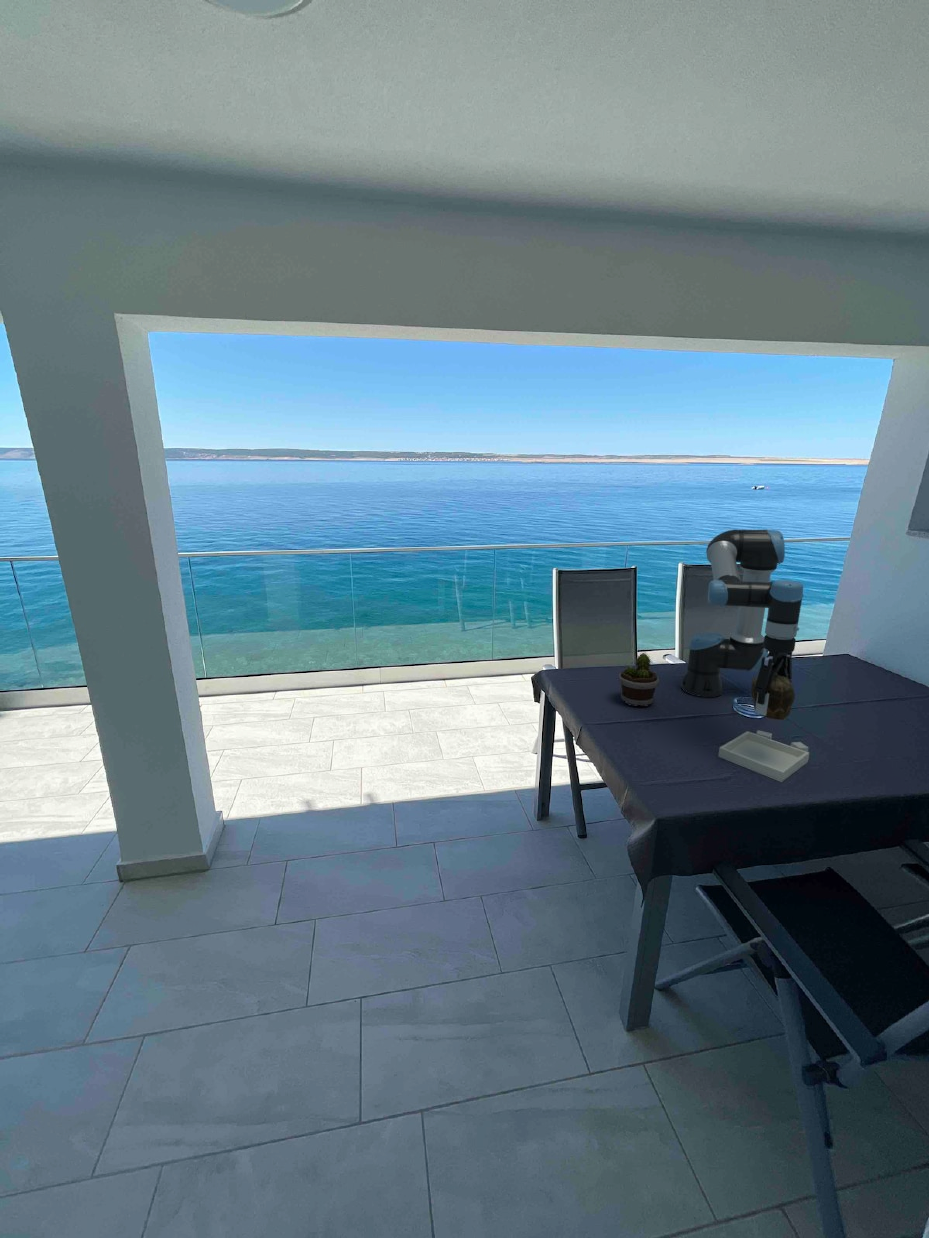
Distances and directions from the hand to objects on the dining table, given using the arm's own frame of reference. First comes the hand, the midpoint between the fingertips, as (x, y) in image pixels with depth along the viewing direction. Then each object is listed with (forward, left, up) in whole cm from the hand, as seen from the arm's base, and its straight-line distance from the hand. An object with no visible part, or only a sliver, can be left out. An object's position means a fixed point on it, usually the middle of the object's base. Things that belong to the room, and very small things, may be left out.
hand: (769, 708), depth 146 cm
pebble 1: (-6, +13, -17) cm, 22 cm away
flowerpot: (-49, +7, -17) cm, 52 cm away
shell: (0, 0, -2) cm, 2 cm away
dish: (0, 0, -16) cm, 16 cm away
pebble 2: (+4, +14, -17) cm, 22 cm away
